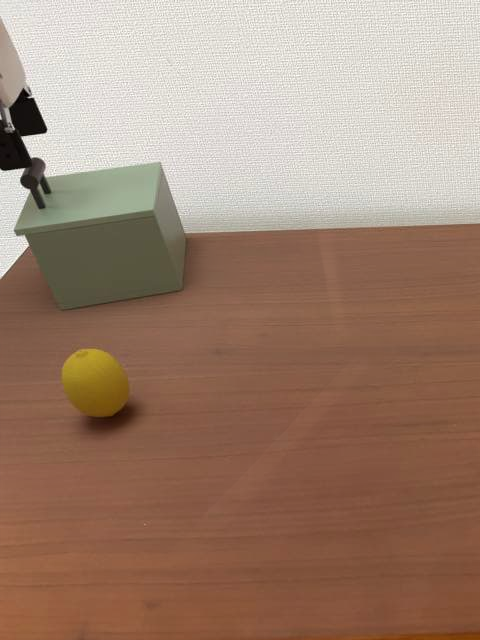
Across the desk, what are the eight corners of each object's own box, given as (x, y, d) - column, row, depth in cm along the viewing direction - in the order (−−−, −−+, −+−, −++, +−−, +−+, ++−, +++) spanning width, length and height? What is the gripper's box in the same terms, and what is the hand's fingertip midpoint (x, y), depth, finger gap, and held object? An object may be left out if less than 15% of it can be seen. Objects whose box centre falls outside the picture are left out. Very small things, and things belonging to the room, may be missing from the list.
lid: (16, 236, 91) (-5, 194, 87) (38, 184, 101) (20, 145, 98) (155, 215, 93) (140, 174, 90) (162, 167, 104) (149, 128, 100)
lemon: (69, 426, 81) (34, 361, 76) (110, 392, 85) (80, 329, 80) (112, 439, 79) (79, 374, 74) (152, 404, 83) (124, 340, 78)
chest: (60, 310, 97) (24, 235, 91) (76, 254, 107) (45, 184, 101) (182, 290, 100) (155, 216, 94) (186, 238, 110) (162, 167, 104)
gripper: (-70, -32, 86) (5, 127, 98) (-121, 11, 74) (-29, 188, 85) (7, -40, 88) (72, 118, 99) (-30, 2, 75) (49, 177, 86)
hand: (26, 150), depth 92 cm, fingers open, 9 cm apart
